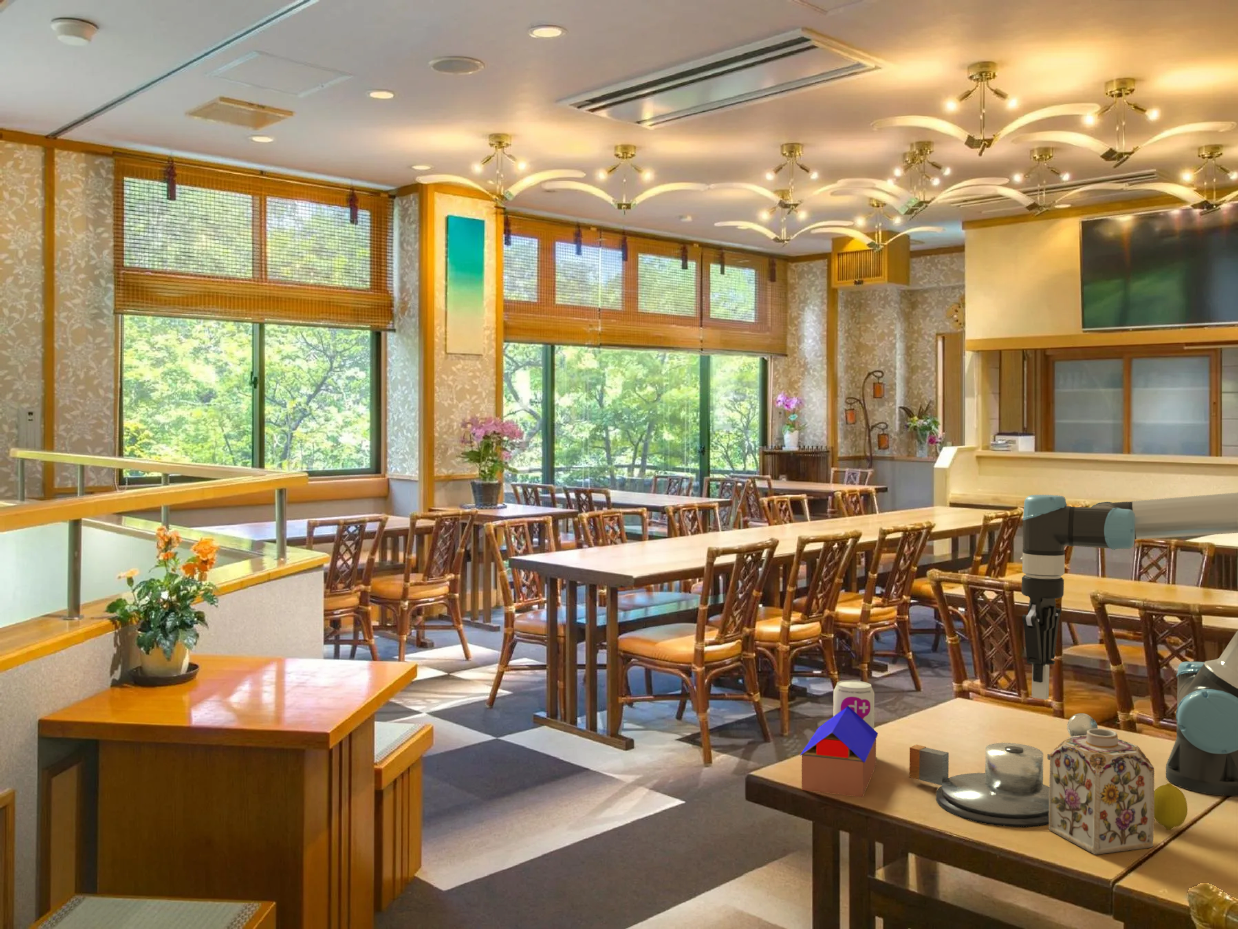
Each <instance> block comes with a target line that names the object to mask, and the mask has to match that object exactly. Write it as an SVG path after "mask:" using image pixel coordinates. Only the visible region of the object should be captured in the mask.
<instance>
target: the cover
mask: <svg viewBox="0 0 1238 929" xmlns="http://www.w3.org/2000/svg"><path fill="white" fill-rule="evenodd" d="M984 757H985V758H984V759H985V761H984V762H985V766H984V767H985V768H984V773H985V781H986V783H987V784H989V785H990V786H993V787H995V788H998V789H1002V790H1007V791H1013V792H1033V791H1038V790H1040V789H1042V788H1043V784H1044V752H1043V750H1041V749H1040V748H1038V747H1034V746H1031V745H1027V744H1023V743H1015V742H996V743H995V742H994V743H991V744H988V745H986V747H985V756H984Z"/></svg>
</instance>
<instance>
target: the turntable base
mask: <svg viewBox="0 0 1238 929" xmlns="http://www.w3.org/2000/svg"><path fill="white" fill-rule="evenodd" d="M935 792H936V793H935V800H936V804H937V805H938V806H939V807H940V808H941V809H943V810H944V811H946V812H948V813H949V814H952V815H954V816H956V817H959V818H961V819H964V820H967V821H971V822H975V823H979V824H985V825H988V826H989V825H991V826H997V827H1004V828H1038V827H1044V826H1049V814H1047V815H1043V816H1038V817H1027V818H1012V817H1000V816H992V815H986V814H981V813H977V812H973V811H970V810H966V809H963V808H961V807H958V806H956V805H954V804H952V803H950V802H949V801H947V800H946V799H945V798H944V797H943V795H942V785H939V787H938V788H937V789H936V791H935Z"/></svg>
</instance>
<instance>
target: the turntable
mask: <svg viewBox="0 0 1238 929" xmlns="http://www.w3.org/2000/svg"><path fill="white" fill-rule="evenodd" d="M949 759H950V758H949V752H948V751H943V750H939V749H935V748H931V747H927V746H923V745H919V744H915V745H913V746H910V747H909V771H908V772H909V779H912V780H913V779H914V780H917V781H923V782H926V783H931V784H935V785H939V786H942V795H943V797H944V798H945V799H946V800H947V801H949V802H950V803H952V804H954V805H956V806H958V807H961V808H963V809H966V810H970V811H973V812H977V813H981V814H986V815H992V816H1000V817H1012V818H1027V817H1038V816H1043V815H1047V814H1049V785H1046V784H1044V783H1043V788H1042V789H1040V790H1038V791H1033V792H1013V791H1007V790H1002V789H998V788H995V787H993V786H990V785H989V784H987V783H986V781H985V772H972V773H971V772H969V773H962V774H957V775H952V776H951V777H949V769H950V768H949V766H950V765H949V764H950V763H949Z"/></svg>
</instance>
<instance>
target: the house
mask: <svg viewBox="0 0 1238 929" xmlns="http://www.w3.org/2000/svg"><path fill="white" fill-rule="evenodd" d="M878 734H879V733H878V732H877V731H876V730H875V728H874V729H873V728H872V727H871V726H870V725H868V724H867V723H866V722H865V721H864V720H863V719H862V718H861V717H860V716H859V715H858V714H856V713H855V712H854V711H853V710H852V709H851V708H850V707H849V706H847V707H846V708H845V709H843V710H842V711H840V712H839V713H838V714H836V715H835V716H834V717H833V716H832V717H831V718H829V719H828V720H826V721H825V722H824V723H823V724H822V725H820V726H819V727H818V728H817V729H816V730H815V732H814V733H813V735H812V737H811V738H810V739H809V741H808V742H807V744H806V745H805V747H804V748H803V750H802V751H801V753H800V755H799V756H800V757H801V791H808V792H815V793H823V794H824V793H825V794H833V795H839V796H840V795H841V796H848V797H849V796H851V797H859V798H863V797H864V795H865V793H866V790H867V788H868V786H869V784H870V781H871V779H870V778H872V777H871V776H873V774H874V771H875V769H876V767H877V737H878Z"/></svg>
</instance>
